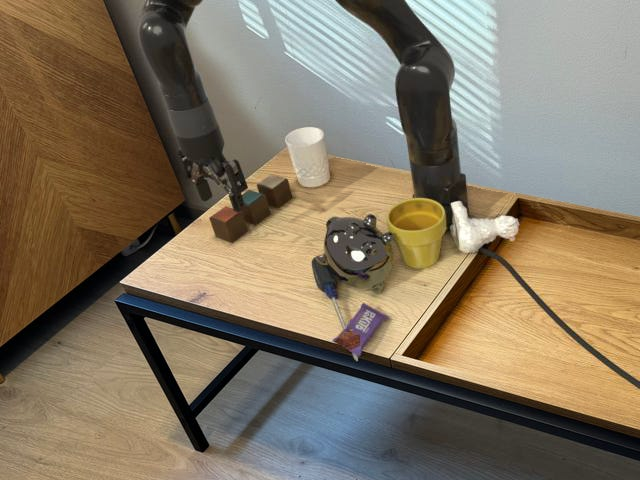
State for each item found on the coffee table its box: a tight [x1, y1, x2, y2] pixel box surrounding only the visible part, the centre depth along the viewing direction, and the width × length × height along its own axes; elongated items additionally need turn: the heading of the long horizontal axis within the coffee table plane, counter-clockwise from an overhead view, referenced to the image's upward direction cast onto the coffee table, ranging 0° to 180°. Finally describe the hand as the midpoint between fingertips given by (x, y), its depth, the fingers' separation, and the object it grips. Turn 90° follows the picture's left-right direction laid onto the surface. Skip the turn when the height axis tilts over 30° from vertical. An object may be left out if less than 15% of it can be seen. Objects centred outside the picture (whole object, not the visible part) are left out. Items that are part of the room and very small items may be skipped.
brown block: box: [256, 173, 294, 210], centre depth 163 cm, size 4×4×5 cm
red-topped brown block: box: [208, 205, 249, 244], centre depth 155 cm, size 4×4×5 cm
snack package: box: [332, 302, 389, 357], centre depth 131 cm, size 12×2×5 cm
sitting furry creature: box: [449, 201, 520, 254], centre depth 147 cm, size 10×9×12 cm
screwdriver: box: [310, 256, 359, 362], centre depth 136 cm, size 26×4×4 cm
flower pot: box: [386, 197, 447, 269], centre depth 144 cm, size 10×10×10 cm
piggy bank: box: [315, 213, 396, 295], centre depth 139 cm, size 11×15×12 cm
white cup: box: [284, 126, 331, 188], centre depth 166 cm, size 8×8×10 cm
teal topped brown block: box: [241, 189, 272, 226], centre depth 159 cm, size 4×4×5 cm
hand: (223, 204), depth 150 cm, fingers open, 8 cm apart
